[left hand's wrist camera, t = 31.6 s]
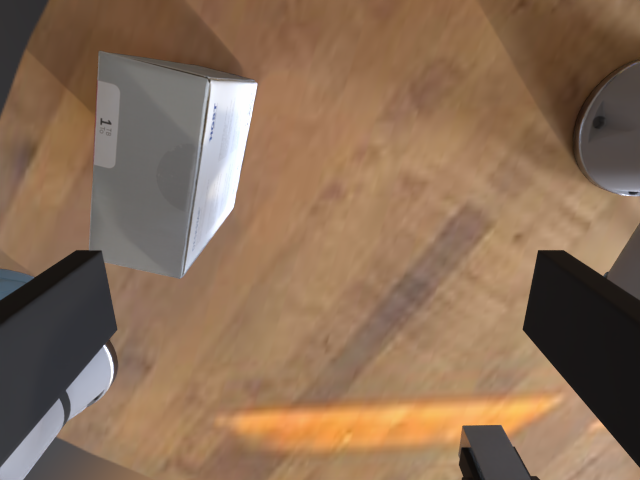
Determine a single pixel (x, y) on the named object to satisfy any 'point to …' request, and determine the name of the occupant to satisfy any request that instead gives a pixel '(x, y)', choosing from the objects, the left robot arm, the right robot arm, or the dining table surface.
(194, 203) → the hard drive box
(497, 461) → the block
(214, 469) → the dining table surface
